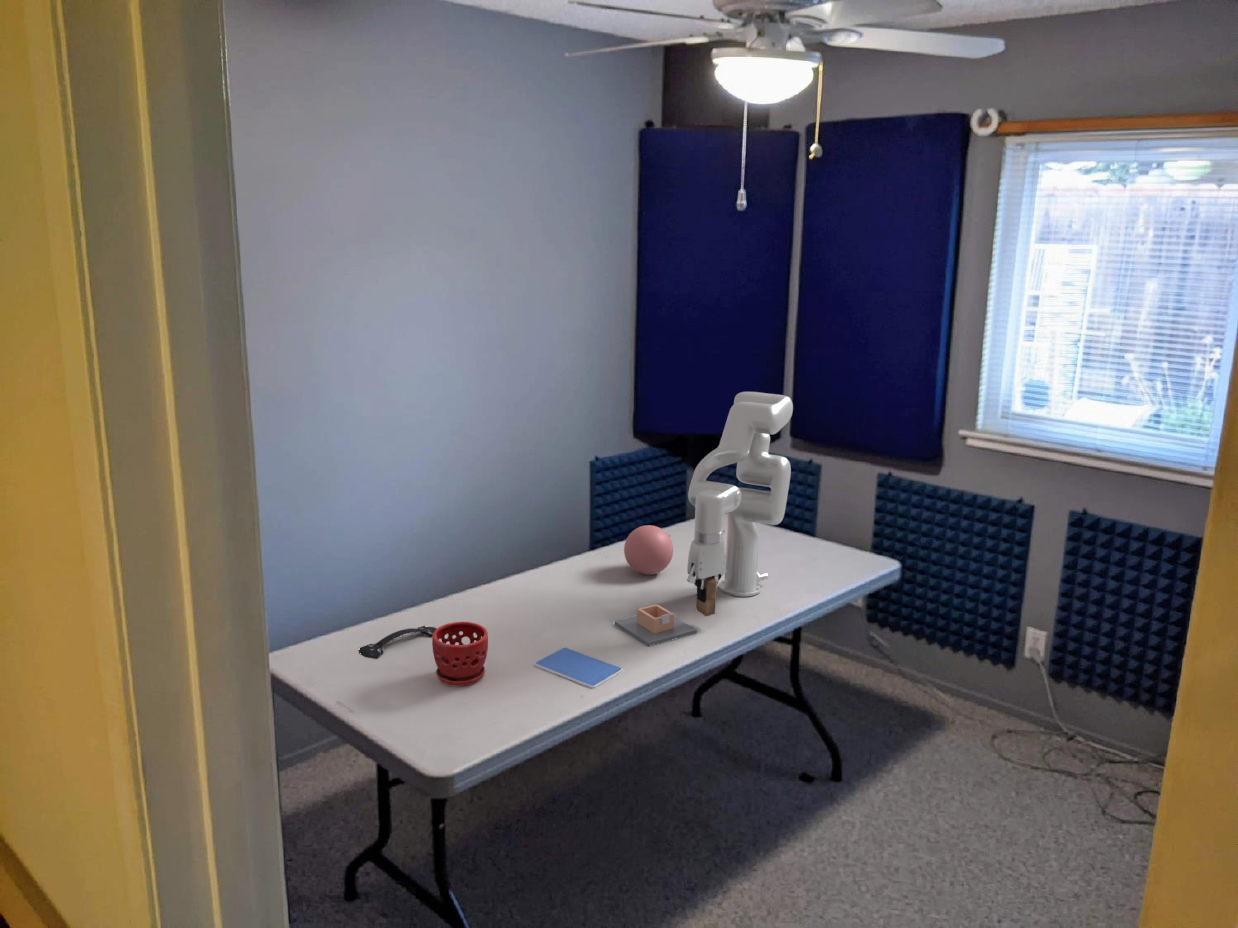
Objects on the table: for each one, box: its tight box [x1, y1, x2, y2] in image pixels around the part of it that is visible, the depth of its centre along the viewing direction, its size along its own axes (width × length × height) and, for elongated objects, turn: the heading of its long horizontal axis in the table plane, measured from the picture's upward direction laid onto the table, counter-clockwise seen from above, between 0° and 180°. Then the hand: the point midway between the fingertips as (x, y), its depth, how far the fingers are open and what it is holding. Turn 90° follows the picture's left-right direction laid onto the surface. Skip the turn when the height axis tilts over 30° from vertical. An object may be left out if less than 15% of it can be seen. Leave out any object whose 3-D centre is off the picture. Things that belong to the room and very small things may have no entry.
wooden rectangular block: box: [695, 577, 717, 617], centre depth 258 cm, size 3×4×10 cm, turn 33°
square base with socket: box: [614, 603, 698, 647], centre depth 257 cm, size 16×16×6 cm
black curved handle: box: [357, 625, 438, 660], centre depth 246 cm, size 9×25×3 cm, turn 136°
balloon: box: [623, 524, 674, 576], centre depth 298 cm, size 15×20×15 cm
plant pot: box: [431, 621, 489, 687], centre depth 226 cm, size 13×13×12 cm
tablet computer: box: [533, 647, 624, 690], centre depth 234 cm, size 19×13×1 cm, turn 53°
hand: (706, 598), depth 258 cm, fingers closed on wooden rectangular block, 2 cm apart
